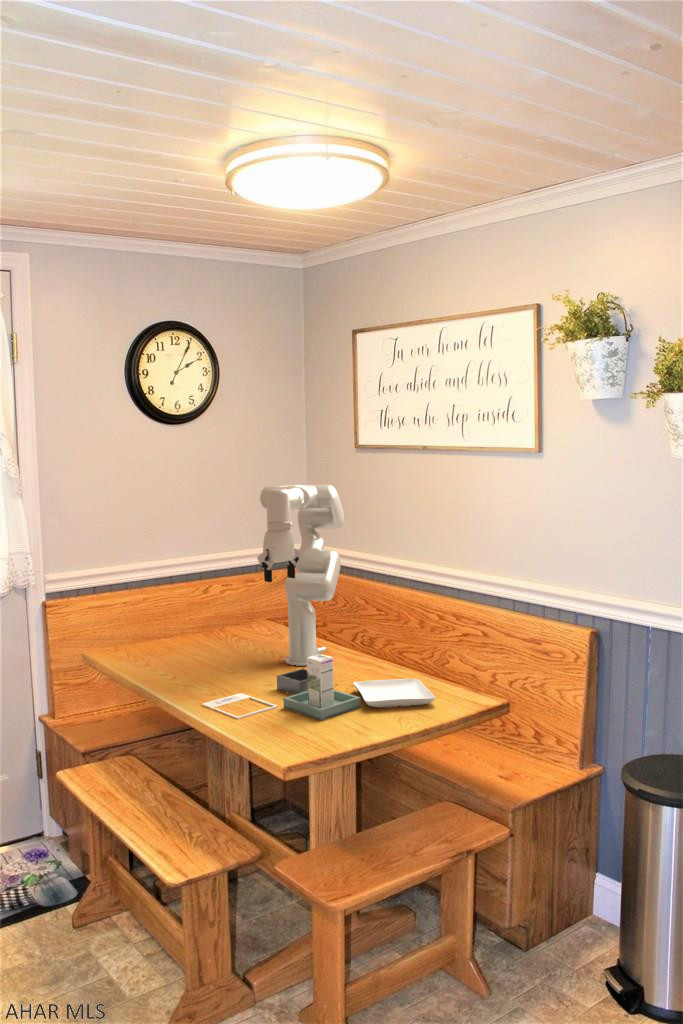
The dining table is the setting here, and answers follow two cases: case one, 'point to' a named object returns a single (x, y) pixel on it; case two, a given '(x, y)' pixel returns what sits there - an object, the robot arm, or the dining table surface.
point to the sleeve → (293, 681)
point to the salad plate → (394, 692)
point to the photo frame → (233, 699)
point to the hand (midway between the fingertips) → (279, 579)
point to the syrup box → (320, 681)
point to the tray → (341, 705)
